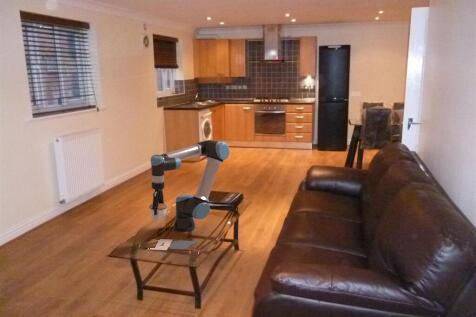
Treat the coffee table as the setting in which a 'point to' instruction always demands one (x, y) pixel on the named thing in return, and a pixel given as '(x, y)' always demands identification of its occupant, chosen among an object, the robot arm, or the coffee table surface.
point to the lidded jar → (159, 210)
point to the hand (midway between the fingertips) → (158, 216)
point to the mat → (181, 244)
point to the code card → (162, 244)
